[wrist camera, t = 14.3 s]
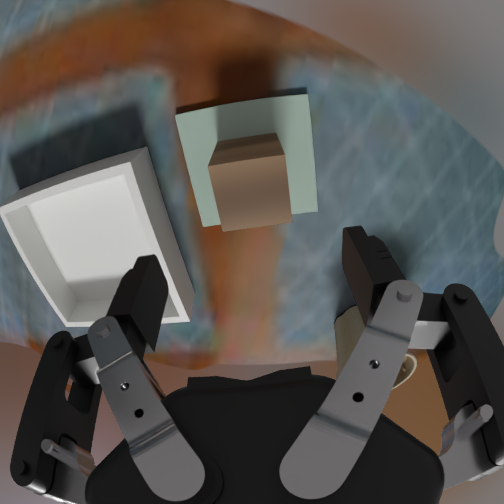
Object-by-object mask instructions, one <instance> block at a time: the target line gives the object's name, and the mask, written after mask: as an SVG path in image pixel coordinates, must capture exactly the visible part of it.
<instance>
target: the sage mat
mask: <svg viewBox="0 0 504 504" xmlns="http://www.w3.org/2000/svg"><path fill="white" fill-rule="evenodd" d="M175 118H176V122H177V127H178V131H179V135H180V139H181V143H182V147H183V151H184V155H185V159H186V163H187V167H188V171H189V175H190V179H191V183H192V187H193V191H194V195H195V198H196V202H197V206H198V210H199V213H200V217H201V221H202V224H203V227H206V226H213V225H219V224H221V222H220V218H219V214H218V210H217V205H216V201H215V197H214V193H213V188H212V184H211V180H210V175H209V171H208V164H209V161H210V159H211V156H212V154H213V151H214V149H215V146H216V144H217V142H218V141H223V140H229V139H235V138H241V137H248V136H255V135H262V134H269V133H277V136H278V138H279V141H280V143H281V146H282V148H283V151H284V153H285V158H286V166H287V175H288V184H289V193H290V203H291V213H292V214H299V213H306V212H315V211H318V208H317V191H316V176H315V163H314V150H313V139H312V129H311V119H310V110H309V101H308V94H298V95H287V96H278V97H270V98H262V99H255V100H248V101H241V102H235V103H229V104H224V105H218V106H213V107H208V108H203V109H198V110H194V111H189V112H185V113H180V114H176V115H175Z"/></svg>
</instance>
